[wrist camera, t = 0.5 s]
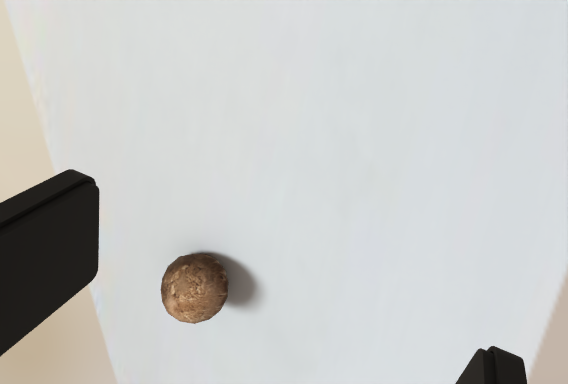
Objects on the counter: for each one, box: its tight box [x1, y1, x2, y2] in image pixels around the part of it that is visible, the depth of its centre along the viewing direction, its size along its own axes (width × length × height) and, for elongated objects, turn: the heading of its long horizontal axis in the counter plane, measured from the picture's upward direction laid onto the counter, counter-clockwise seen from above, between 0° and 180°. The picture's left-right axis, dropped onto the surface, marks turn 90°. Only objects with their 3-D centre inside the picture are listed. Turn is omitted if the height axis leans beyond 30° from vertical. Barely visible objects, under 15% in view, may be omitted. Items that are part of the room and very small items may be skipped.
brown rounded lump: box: [161, 254, 228, 324], centre depth 50 cm, size 8×8×6 cm
